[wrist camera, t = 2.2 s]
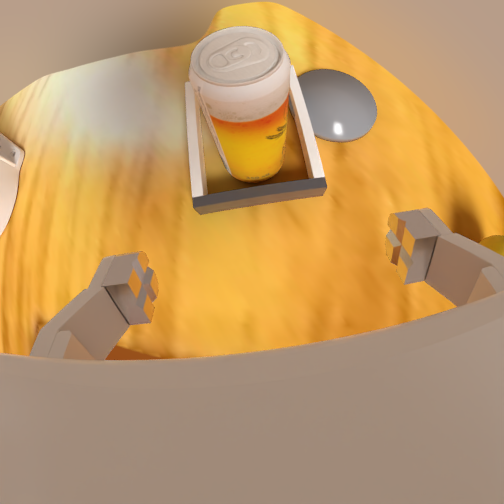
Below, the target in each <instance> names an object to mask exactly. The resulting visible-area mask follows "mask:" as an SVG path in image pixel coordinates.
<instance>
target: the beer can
mask: <svg viewBox="0 0 504 504" xmlns="http://www.w3.org/2000/svg"><path fill="white" fill-rule="evenodd" d="M290 69H291V63H290V58H289V56H288V54H287V52H286V51H285V50H284V48H283V45H282V43H281V42H280V40H279V39H278V38H277V37H276V36H275V35H273V34H272V33H270V32H268V31H266V30H263V29H260V28H256V27H249V26H237V27H230V28H225V29H222V30H219V31H216V32H214V33H212V34H210V35H208V36H207V37H205V38H204V39H203V40H201V41H200V42H199V43H198V44H197V46H196V47H195V48H194V50H193V52H192V55H191V63H190V67H189V79H190V82H191V85H192V87H193V90H194V92H195V95H196V97H197V99H198V102H199V104H200V107H201V109H202V112H203V114H204V117H205V119H206V121H207V124H208V126H209V129H210V131H211V134H212V136H213V139H214V141H215V144H216V146H217V148H218V151H219V153H220V156H221V158H222V161H223V163H224V166H225V168H226V169H227V171H228V172H229V173H230V174H231V175H232V176H233V177H235V178H236V179H238V180H241V181H244V182H249V183H256V182H262V181H265V180H267V179H269V178H271V177H273V176H274V175H275V174H276V173H277V172H278V171H279V170H280V168H281V167H282V164H283V162H284V156H285V144H286V130H287V116H288V101H289V86H290Z"/></svg>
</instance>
